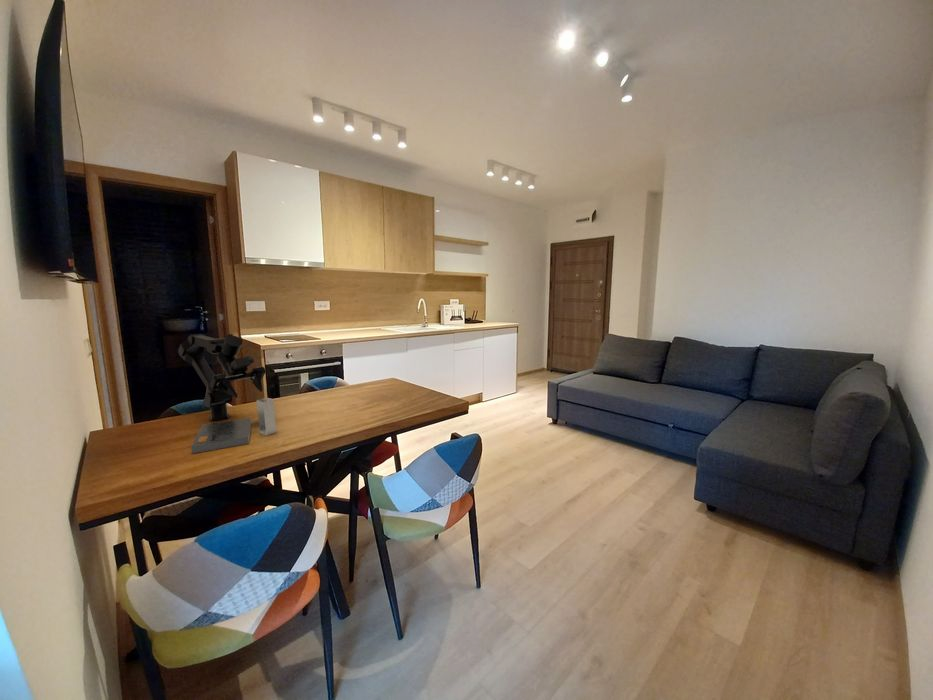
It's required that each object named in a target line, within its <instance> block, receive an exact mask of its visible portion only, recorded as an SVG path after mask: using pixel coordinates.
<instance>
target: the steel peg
mask: <svg viewBox="0 0 933 700" xmlns="http://www.w3.org/2000/svg"><path fill="white" fill-rule="evenodd" d="M256 409H257V418H258V429H259V434H261V435H263V436H265V437H266V436H269V435H272V434H275V433H277V423H276V411H275V401H274V398H269V397H264V398H260V399H256Z"/></svg>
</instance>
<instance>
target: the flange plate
mask: <svg viewBox="0 0 933 700" xmlns="http://www.w3.org/2000/svg"><path fill="white" fill-rule="evenodd" d="M251 428H252V418H251V417H246V418H241V419H234V420H233V419H232V420H226V421H219V422H218V421H217V422H212V423H211V422H210V423H206V424H205V423H204V424H201V426H200V428H199V430H198V432H197V434H196V436H195V438H194V440H193V442H192V444H191V446H190V449H191V454H197V453H198V454H199V453H204V452H211V451H215V450H222V449H227V448H232V447H238V446H243V445H249V443H250V436H251V430H252V429H251Z"/></svg>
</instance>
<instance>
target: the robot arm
mask: <svg viewBox="0 0 933 700" xmlns="http://www.w3.org/2000/svg"><path fill="white" fill-rule="evenodd" d="M242 346H243V340H242V338H240V337H238V336H236V335H234V334H232V333H229V334H225V337H221V338H215V337H210V336H207V335H204V334H201V333H199V334H190V335H188V336H187V339H186V340H184V341H183V342H181V343H180V345H179V347H178V349H177V353H178V355H179V357H181V358H182V360H183V361H184V362H187V363H189V364H191V365H192V367H193V369H194V370H195V372H196V373H197V375H198V377H199V378H200V379H201V380H200V381H202V383H203V385H204V386H205V388H206V392H205V396H204V399H203V400H202V401H203V405H204V407H205V408H206V407H207V408H209V409H210V418H209V422H210V421H211V422H216V421H217V422H218V421H224V420H228V419H229V418H230V416H231V415H230V413H228V406H227V404H231V403H232V402H233V398H235V399H237V398H239V396H238V393H237V391H235V388H234V387H233V386H232V384H231V382H233V381H240V380H245V379H250V380H251V381H252V384H253V386H254V387H255V388H256V389H257V391H259V392H261V393H262V392H263V385H262V384H263V383H262V380H263V379H264V376H265V374H266V372H267V370H266V368H265V367H264V366H257V367H253V368H252V370H251V371H250V372H247V371H248V369H249V368H248V367H249V366H251V365H252V364H254V363H255V361H254V358H253V356H252V355H246V356H244V357H236V356H237V355H239V352H240V350H241V348H242ZM206 351H207V352H208V353H210V354H211V355H215V354H216V355H217V356H216V364H220V365H221V367H222V368H223V371H222V372H223V373H219V374H215V373H214V371H213V370H212V368H211V367H210V365H209V364H208V362H207V360H206V359H205V353H206Z"/></svg>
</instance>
